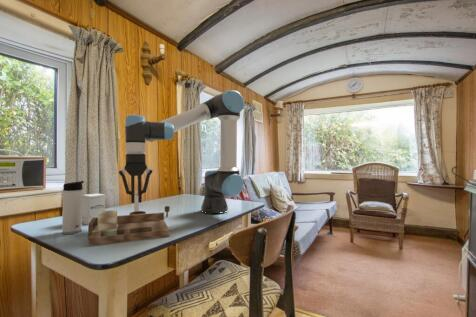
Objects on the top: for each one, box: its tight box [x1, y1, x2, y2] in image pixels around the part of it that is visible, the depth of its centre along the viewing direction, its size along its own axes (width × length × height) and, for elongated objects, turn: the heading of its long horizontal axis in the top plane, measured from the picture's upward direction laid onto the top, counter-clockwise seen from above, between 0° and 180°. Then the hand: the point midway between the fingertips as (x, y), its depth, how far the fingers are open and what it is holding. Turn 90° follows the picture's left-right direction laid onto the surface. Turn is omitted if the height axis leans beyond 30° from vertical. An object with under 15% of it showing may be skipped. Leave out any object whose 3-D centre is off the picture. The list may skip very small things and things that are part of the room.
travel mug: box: [61, 180, 85, 236], centre depth 93 cm, size 6×7×20 cm
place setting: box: [129, 205, 170, 218], centre depth 110 cm, size 18×20×6 cm
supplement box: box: [82, 193, 106, 226], centre depth 107 cm, size 7×7×13 cm
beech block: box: [98, 209, 118, 231], centre depth 91 cm, size 6×6×6 cm
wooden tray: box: [87, 211, 170, 247], centre depth 92 cm, size 27×17×6 cm, turn 115°
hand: (136, 210), depth 97 cm, fingers closed
